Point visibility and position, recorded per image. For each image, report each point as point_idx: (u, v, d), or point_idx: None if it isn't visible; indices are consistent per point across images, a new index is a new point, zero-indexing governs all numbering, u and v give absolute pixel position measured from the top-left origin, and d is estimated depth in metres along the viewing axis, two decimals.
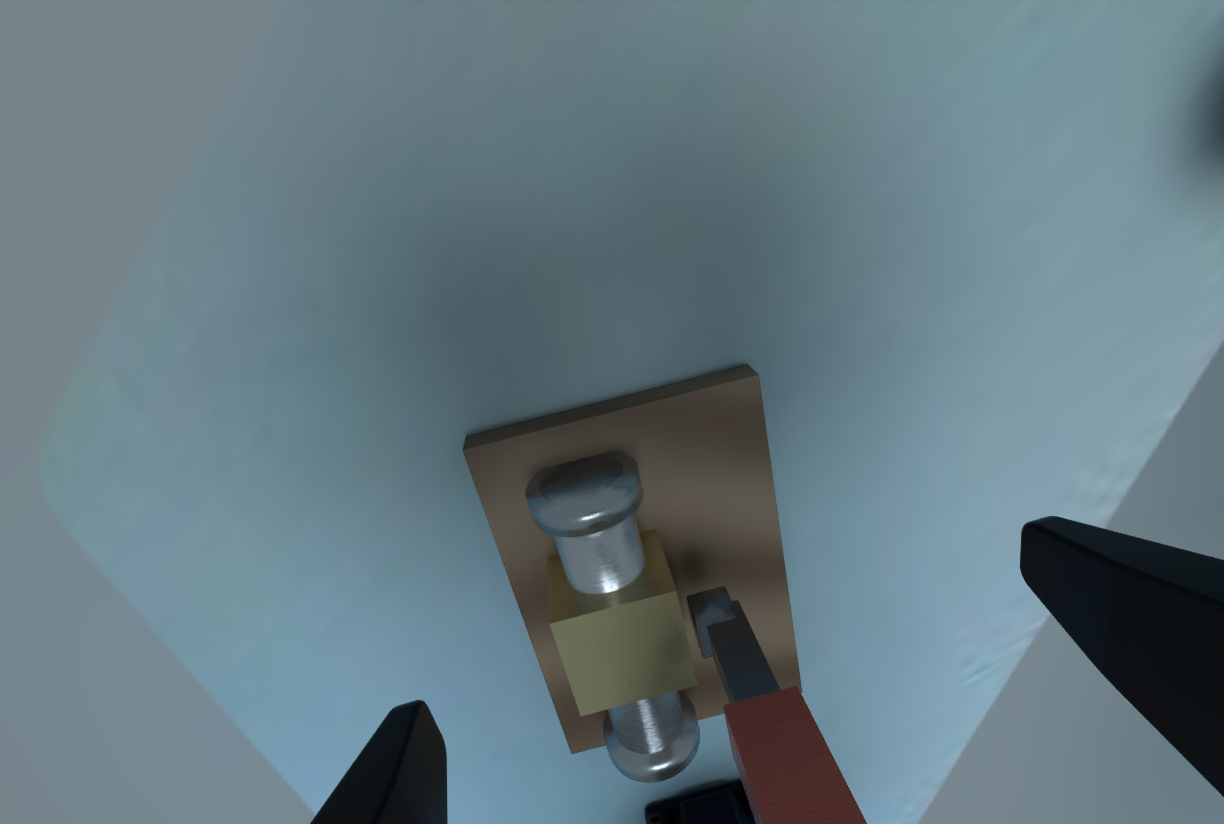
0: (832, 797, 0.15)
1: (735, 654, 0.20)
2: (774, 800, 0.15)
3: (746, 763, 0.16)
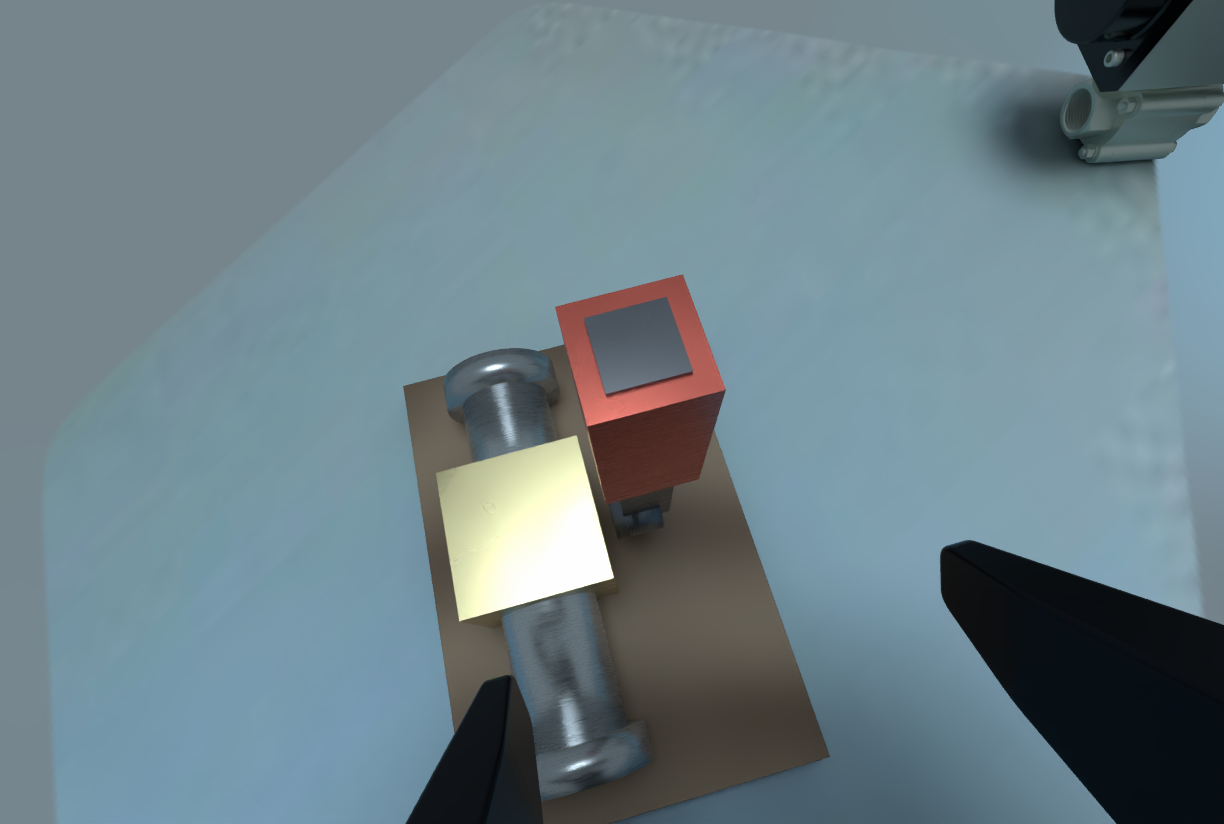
0: None
1: None
2: None
3: None
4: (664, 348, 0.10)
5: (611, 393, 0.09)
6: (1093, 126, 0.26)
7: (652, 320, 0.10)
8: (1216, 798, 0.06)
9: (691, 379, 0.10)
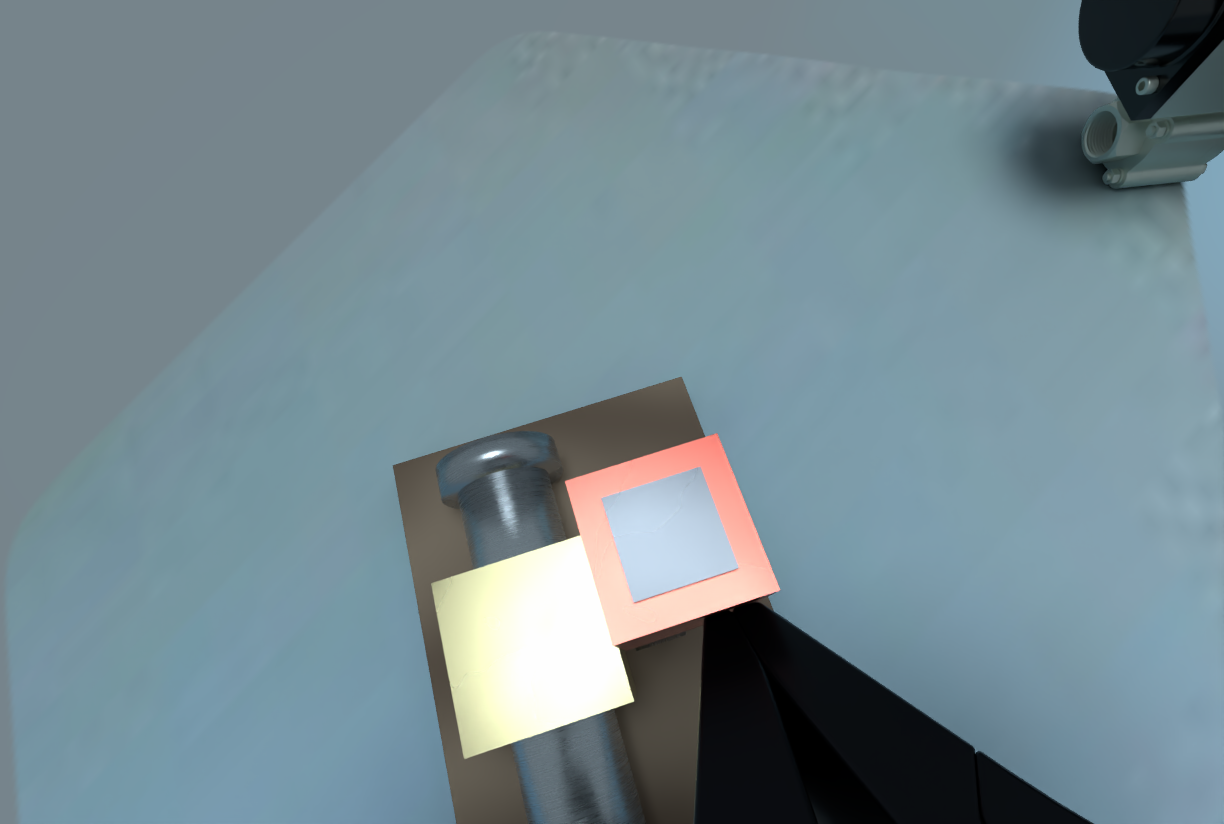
0: None
1: None
2: None
3: None
4: (702, 537, 0.08)
5: (639, 600, 0.08)
6: (1119, 151, 0.25)
7: (684, 499, 0.08)
8: None
9: (736, 576, 0.08)
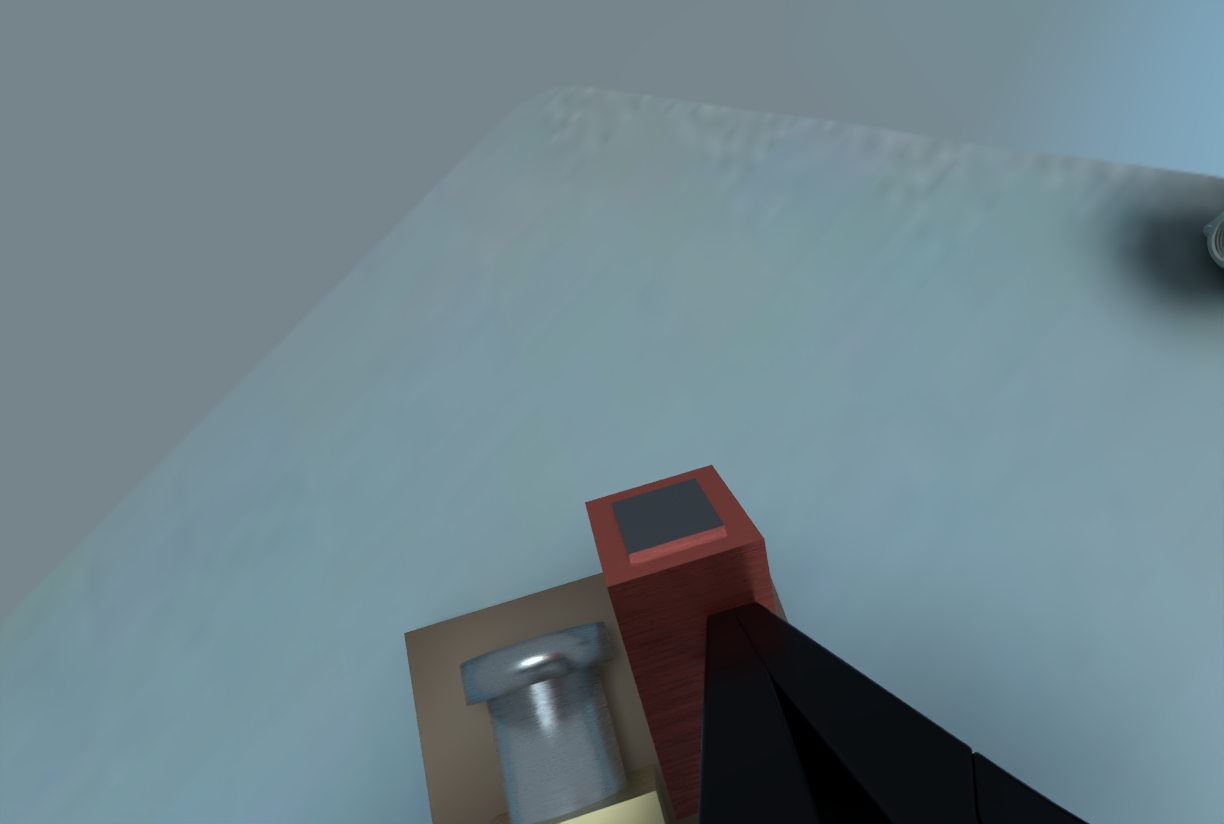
0: None
1: None
2: None
3: None
4: (693, 513, 0.09)
5: (635, 555, 0.08)
6: None
7: (680, 495, 0.09)
8: None
9: (724, 535, 0.08)
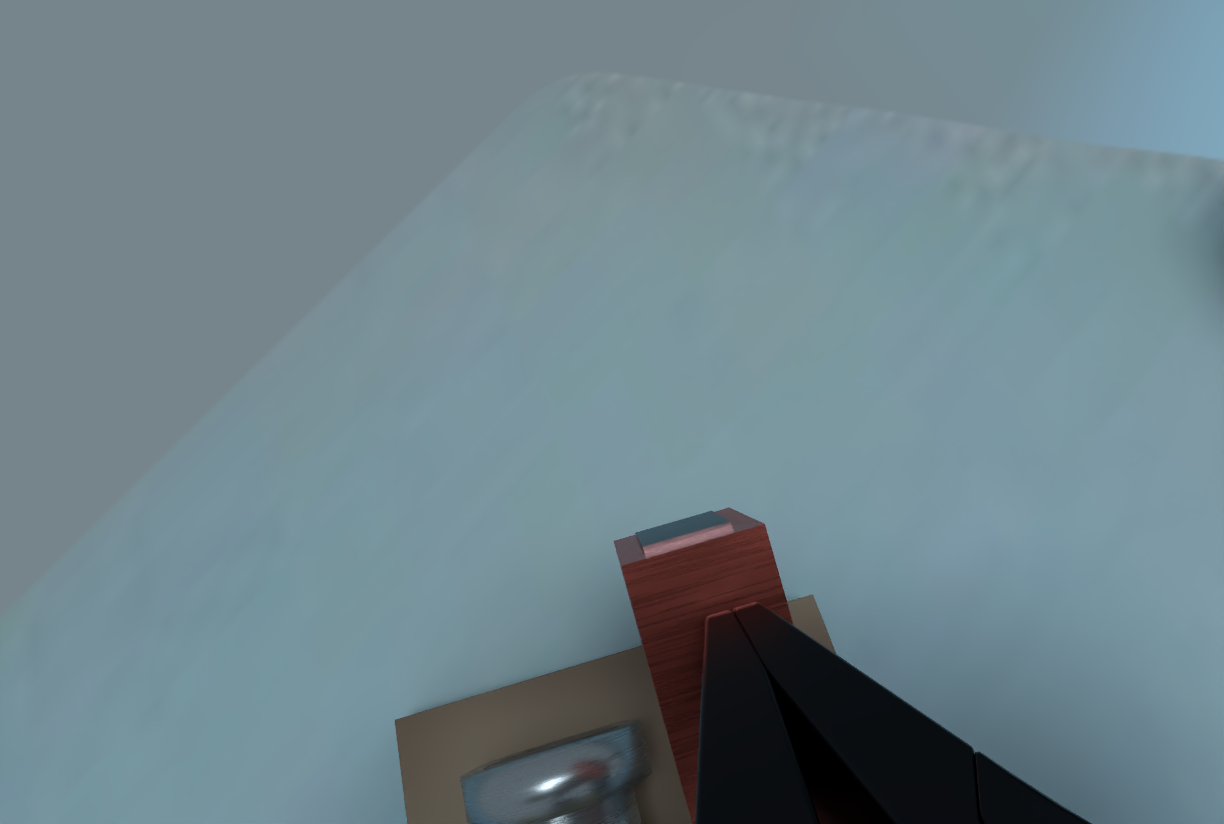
0: None
1: None
2: None
3: None
4: (704, 522, 0.10)
5: (649, 547, 0.09)
6: None
7: (696, 519, 0.10)
8: None
9: (731, 529, 0.09)
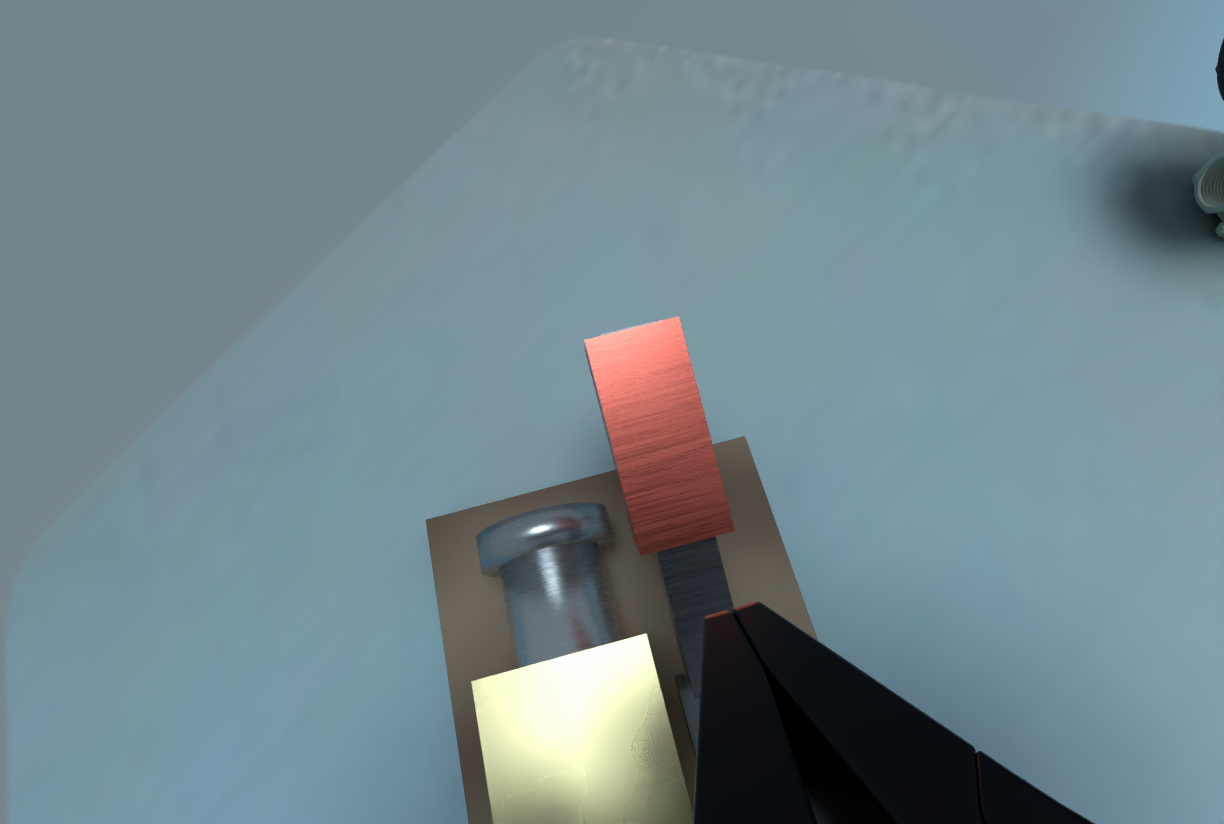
0: None
1: None
2: None
3: None
4: None
5: (604, 335, 0.14)
6: None
7: None
8: None
9: (658, 323, 0.14)
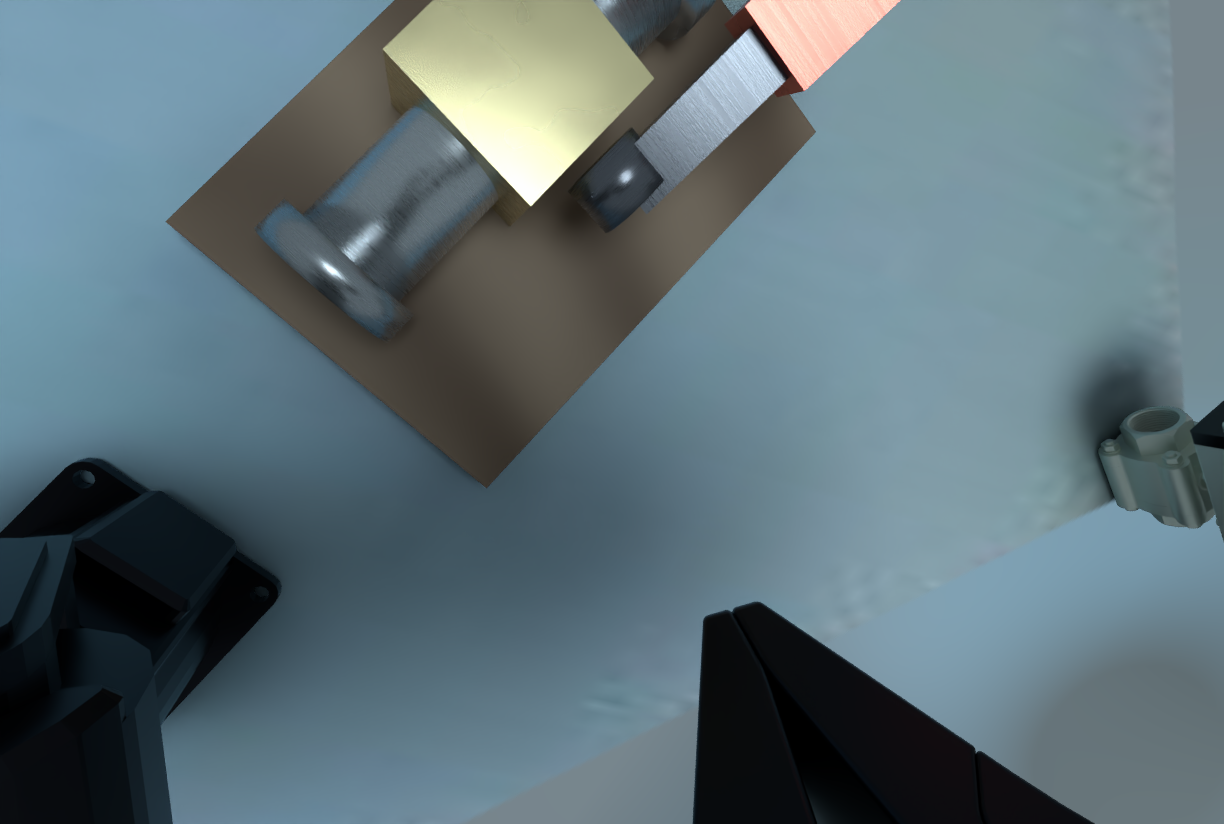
0: None
1: None
2: None
3: None
4: None
5: None
6: (1141, 440, 0.27)
7: None
8: None
9: None
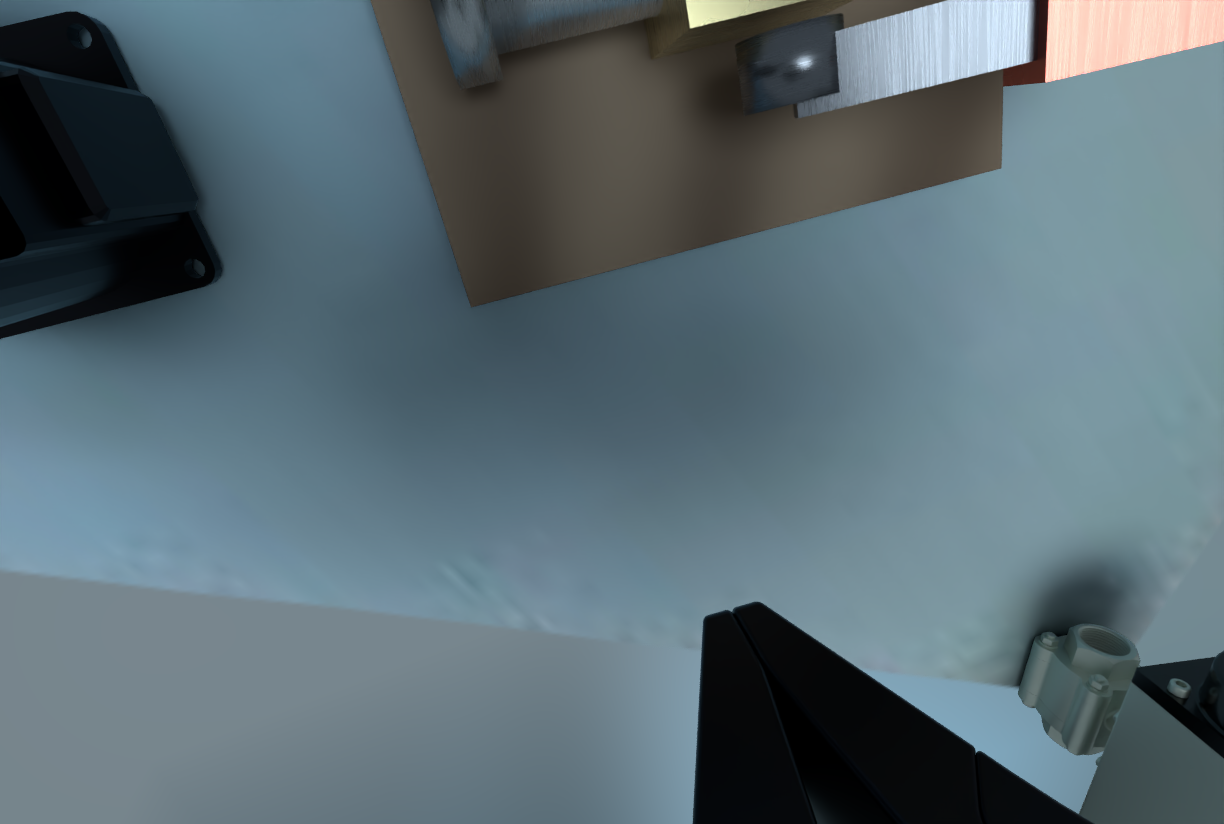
0: None
1: None
2: None
3: None
4: None
5: None
6: (1081, 650, 0.25)
7: None
8: None
9: None
